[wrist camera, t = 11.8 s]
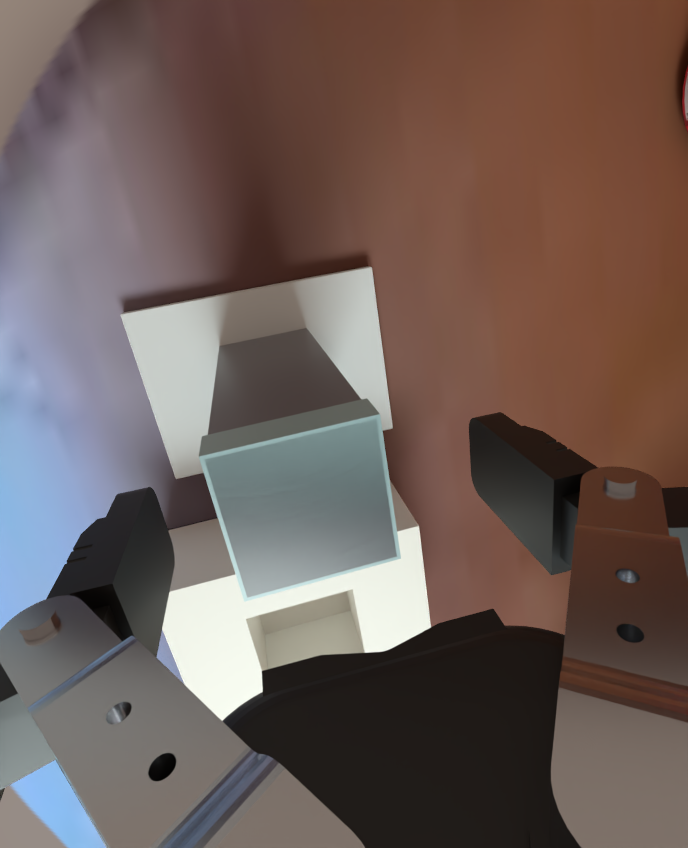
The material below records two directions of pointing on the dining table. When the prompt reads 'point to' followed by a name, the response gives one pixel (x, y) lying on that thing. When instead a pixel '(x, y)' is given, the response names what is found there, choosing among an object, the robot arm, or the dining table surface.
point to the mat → (244, 320)
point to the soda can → (685, 99)
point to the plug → (295, 467)
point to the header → (283, 613)
